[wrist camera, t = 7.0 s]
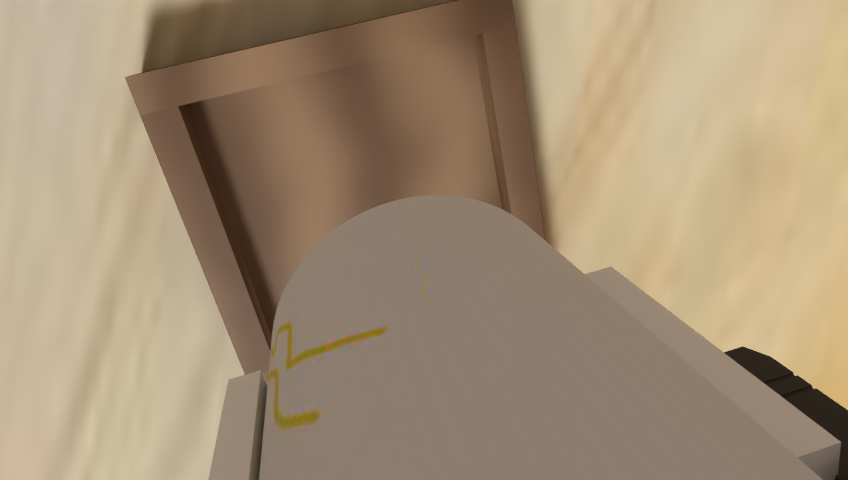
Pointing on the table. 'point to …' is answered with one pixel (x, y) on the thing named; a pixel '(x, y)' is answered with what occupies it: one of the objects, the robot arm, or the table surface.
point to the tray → (335, 142)
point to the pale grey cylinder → (483, 365)
